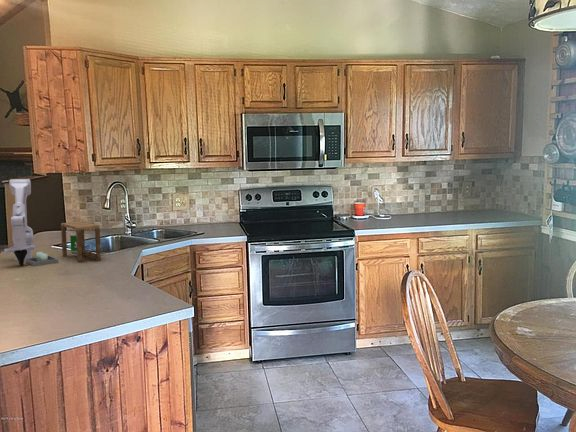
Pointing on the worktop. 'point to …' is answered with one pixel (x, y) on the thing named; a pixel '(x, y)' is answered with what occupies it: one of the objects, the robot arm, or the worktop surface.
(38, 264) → the tray
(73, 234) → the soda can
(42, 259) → the mint green capsule
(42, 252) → the pale green rounded cylinder
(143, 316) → the worktop surface
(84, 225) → the small wooden stool
